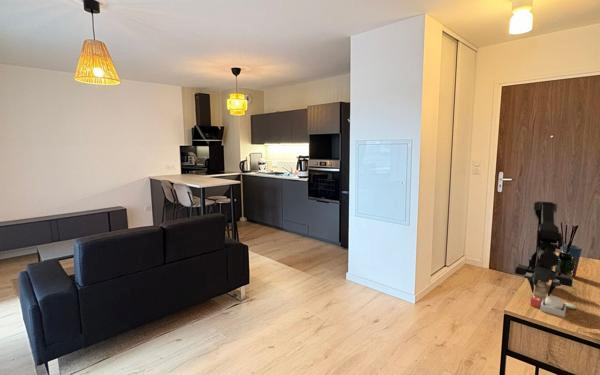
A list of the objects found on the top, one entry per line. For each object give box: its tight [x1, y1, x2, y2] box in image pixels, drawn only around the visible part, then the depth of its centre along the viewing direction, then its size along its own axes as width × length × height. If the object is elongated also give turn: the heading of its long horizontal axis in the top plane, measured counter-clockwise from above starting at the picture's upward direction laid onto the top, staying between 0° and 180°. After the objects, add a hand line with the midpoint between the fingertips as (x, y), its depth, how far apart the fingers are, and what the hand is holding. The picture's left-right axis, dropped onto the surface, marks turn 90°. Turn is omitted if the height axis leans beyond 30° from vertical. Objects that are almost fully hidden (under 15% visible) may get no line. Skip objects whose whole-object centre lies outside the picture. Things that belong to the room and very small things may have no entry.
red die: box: [529, 295, 542, 309], centre depth 127 cm, size 3×3×3 cm
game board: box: [539, 298, 578, 318], centre depth 127 cm, size 18×14×4 cm
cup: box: [563, 243, 583, 278], centre depth 157 cm, size 7×7×15 cm
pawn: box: [533, 281, 549, 301], centre depth 132 cm, size 4×4×8 cm
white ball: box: [544, 295, 564, 310], centre depth 123 cm, size 6×6×6 cm
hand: (540, 294), depth 133 cm, fingers open, 5 cm apart
